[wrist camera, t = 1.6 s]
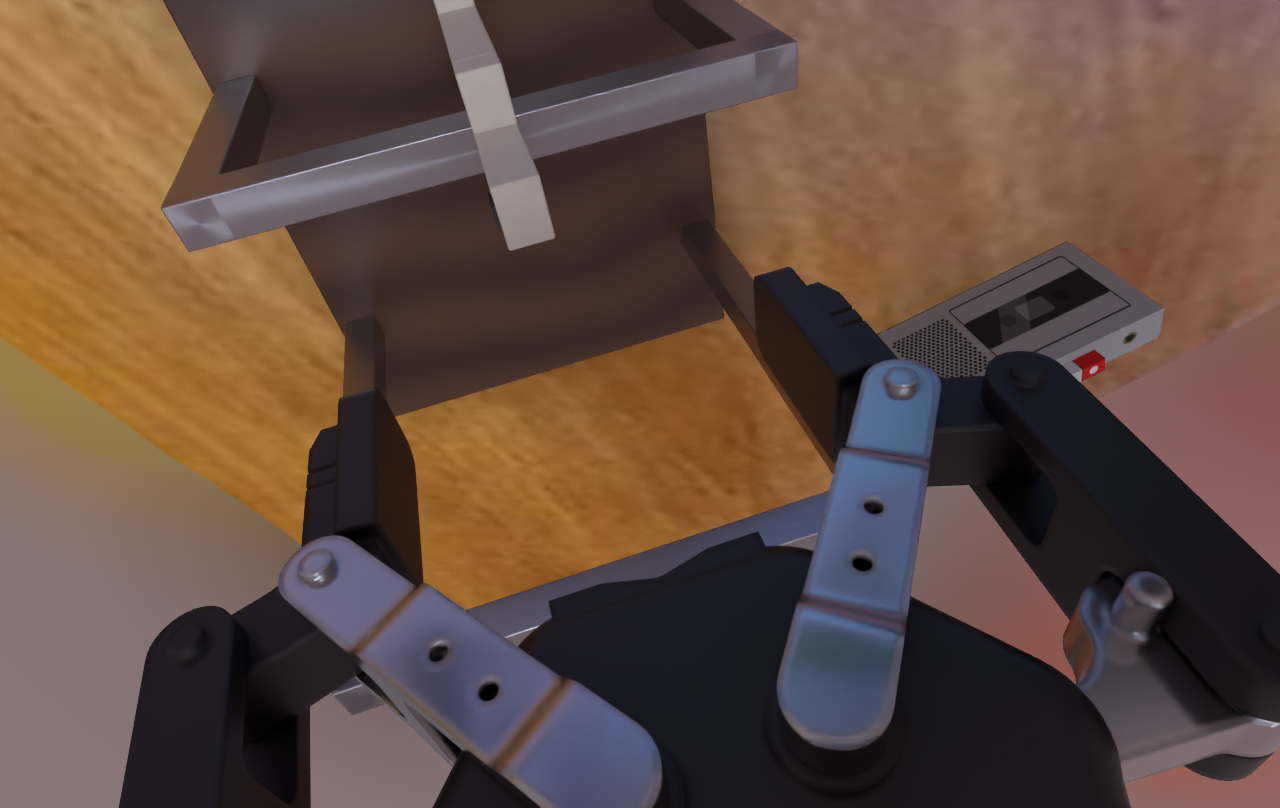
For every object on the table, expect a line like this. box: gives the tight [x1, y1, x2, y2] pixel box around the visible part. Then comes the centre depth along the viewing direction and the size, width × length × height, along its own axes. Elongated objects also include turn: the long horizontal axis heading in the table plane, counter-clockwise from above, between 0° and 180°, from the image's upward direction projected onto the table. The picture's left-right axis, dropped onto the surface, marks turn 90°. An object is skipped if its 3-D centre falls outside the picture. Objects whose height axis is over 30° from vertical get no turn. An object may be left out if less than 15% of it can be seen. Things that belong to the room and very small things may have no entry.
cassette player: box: [878, 242, 1164, 382], centre depth 51 cm, size 16×3×10 cm, turn 112°
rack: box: [161, 0, 837, 715], centre depth 30 cm, size 26×22×24 cm
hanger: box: [433, 0, 555, 251], centre depth 26 cm, size 11×2×13 cm, turn 9°
